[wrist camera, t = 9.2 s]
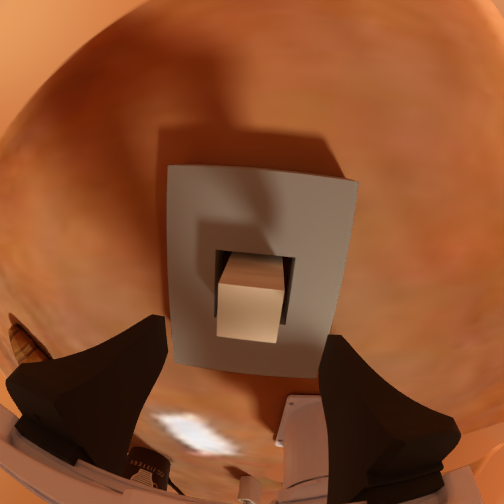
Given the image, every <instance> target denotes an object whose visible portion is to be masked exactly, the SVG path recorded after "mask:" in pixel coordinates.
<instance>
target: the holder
mask: <svg viewBox="0 0 504 504" xmlns="http://www.w3.org/2000/svg"><path fill="white" fill-rule="evenodd" d="M358 185H359V182H357V181H354V180H351V179H347V178H343V177H336V176H329V175H322V174H314V173H306V172H297V171H288V170H279V169H268V168H256V167H243V166H227V165H208V164H176V165H168V169H167V268H168V289H169V305H170V319H171V331H172V341H173V351H174V360H175V363H177V364H183V365H188V366H194V367H200V368H207V369H213V370H220V371H228V372H236V373H244V374H253V375H264V376H276V377H291V378H313V379H316V378H317V375H318V368H319V365H320V361H321V358H322V354H323V351H324V347H325V343H326V340H327V336H328V334H329V333H330V329H331V325H332V321H333V318H334V314H335V309H336V305H337V301H338V297H339V292H340V288H341V283H342V279H343V274H344V269H345V264H346V259H347V254H348V249H349V243H350V238H351V232H352V226H353V220H354V213H355V206H356V200H357V192H358ZM224 251H234V252H244V253H254V254H265V255H275V256H285V257H291V258H290V265H289V273H288V280H287V287H286V294H285V301H284V302H283V304H282V311H281V317H280V323H279V329H278V335H277V341H276V343H270V342H260V341H251V340H243V339H235V338H227V337H220V336H217V309H218V283H219V281H220V278H221V276H222V274H223V252H224Z"/></svg>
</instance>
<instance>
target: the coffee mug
mask: <svg viewBox="0 0 504 504" xmlns="http://www.w3.org/2000/svg"><path fill="white" fill-rule="evenodd" d="M170 465H171V464H170V462H169V460H168V459H166V458H165V457H164V456H162V455H160V454H158V453H156V452H154V451H152V450H149V449H146V448H141V447H133V448H132V449H131V451H130V452H129V454H128V455H127V457H126V461H125V466H124V470H123V475H122V477H123V478H125V479H128V480H131V481H134V482H137V483H140V484H143V485H146V486H150V487H153V488H156V489H160V490H164V491H167V484H169V485H170V486H171V487H172V488H173V489H174V490H175V491H177V492H178V493H179V494H180V495H184V494H183V493H182V492H181V491H180V490H179V489H178V488H177V487H176V486H175V485H174V484H173V483H172V482H171V480H170V478H169V471H170ZM184 496H185V495H184Z"/></svg>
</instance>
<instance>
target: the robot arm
mask: <svg viewBox="0 0 504 504" xmlns="http://www.w3.org/2000/svg"><path fill="white" fill-rule="evenodd" d="M167 354H168V346H167V337H166V327H165V317H164V316H159V315H153V314H152V315H150V316H148V317H147V318H145V319H143V320H142V321H140V322H138V323H137V324H135V325H134V326H132V327H130V328H129V329H127V330H125V331H124V332H122V333H120V334H118V335H117V336H115V337H113V338H111V339H109V340H107V341H105V342H103V343H101V344H99V345H97V346H95V347H92V348H90V349H87V350H85V351H82V352H79V353H76V354H73V355H69V356H66V357H62V358H58V359H53V360H48V361H41V362H31V363H21V364H20V365H19V366H18V367H17V368H16V369H15V371H14V372H13V373H12V374H11V375H10V376H9V377H8V378H7V379H6V387H7V390H8V392H9V394H10V396H11V398H12V399H13V401H14V402H15V404H16V406H17V407H18V409H19V410H20V411H21V413H22V416H21V418H20V419H19V418H18V417H17V416H16V415H14V414H13V413H12V412H11V411H9V410H8V409H7V408H5V407H4V406H3V405H1V404H0V467H1V468H2V469H3V470H4V471H6V472H7V473H8V474H9V475H11V476H12V477H13V478H14V479H15V480H17V481H18V482H19V483H21V484H22V485H23V486H25V487H26V488H27V489H29V490H30V491H31V492H33V493H34V494H36V495H37V496H38V497H40V498H41V499H43V500H44V501H46V502H48V503H49V504H230V503H223V502H216V501H210V500H204V499H198V498H193V497H189V496H184V495H180V494H175V493H171V492H167V491H164V490H160V489H156V488H153V487H150V486H146V485H143V484H140V483H137V482H134V481H131V480H128V479H125V478H123V477H122V475H123V470H124V466H125V461H126V457H127V453H128V449H129V445H130V442H131V439H132V435H133V432H134V429H135V426H136V423H137V420H138V418H139V415H140V412H141V410H142V407H143V405H144V403H145V401H146V399H147V397H148V395H149V394H150V392H151V390H152V388H153V386H154V384H155V382H156V380H157V378H158V376H159V374H160V372H161V370H162V368H163V365H164V363H165V360H166V357H167ZM318 373H319V389H320V394H321V396H317V395H289V396H288V397H287V400H286V404H285V408H284V411H283V415H282V419H281V423H280V426H279V430H278V433H277V437H276V440H275V445H276V446H278V447H284V460H283V487H284V490H280V491H278V500H273V501H271V502H270V503H269V504H483V501H482V499H481V495H480V492H479V489H478V487H477V484H476V481H475V478H474V476H473V473H472V471H471V468H470V466H469V465H467V466H465V467H462V468H460V469H457V470H455V471H452V472H449V473H447V474H446V475H444V476H442V475H441V472H440V471H441V470H443V467H444V466H443V464H442V460H443V459H444V458H445V457H446V456H447V455H448V454H449V453H450V452H451V451H452V450H453V449H454V448H455V447H456V445H457V444H458V442H459V440H460V438H461V433H460V431H459V429H458V427H457V425H456V423H455V421H454V419H453V418H452V417H450V416H447V415H444V414H441V413H439V412H436V411H434V410H431V409H429V408H427V407H425V406H423V405H421V404H419V403H417V402H415V401H414V400H412V399H410V398H409V397H407V396H406V395H404V394H402V393H401V392H399V391H398V390H397V389H395V388H394V387H393V386H391V385H390V384H389V383H388V382H386V381H385V380H384V379H383V378H382V377H380V376H379V375H378V374H377V373H376V372H375V371H374V370H373V369H372V368H371V367H370V366H369V365H368V364H367V363H366V362H365V361H364V360H363V359H362V358H361V357H360V356H359V355H358V353H357V352H356V351H355V350H354V349H353V348H352V347H351V345H350V344H349V343H348V342H347V341H346V340H345V339H344V338H343V336H342V335H329V334H328V336H327V340H326V343H325V347H324V351H323V354H322V358H321V361H320V365H319V368H318ZM290 402H292V403H290Z"/></svg>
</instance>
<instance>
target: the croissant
mask: <svg viewBox="0 0 504 504" xmlns="http://www.w3.org/2000/svg"><path fill="white" fill-rule="evenodd" d="M9 337H10V343H11V346H12V349H13V352H14V355H15V358H16V360H17V362H18V364H19V365H20V364H21V363H31V362H41V361H48V360H51V359H50V358H49V357H48V356H47V355H46V354H45V353H44V352H43V351H42V350H41V349H40V348H39V347H38V346H37V344H36V343H35V342H34V340H33V339H32V338H31V337H30V336H29V335H28V334H27V333H26V331H25V330H23V329H22V328H21V327H20V326H19V325H18V324H15V325H13V326H11V328H10V329H9Z"/></svg>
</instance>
